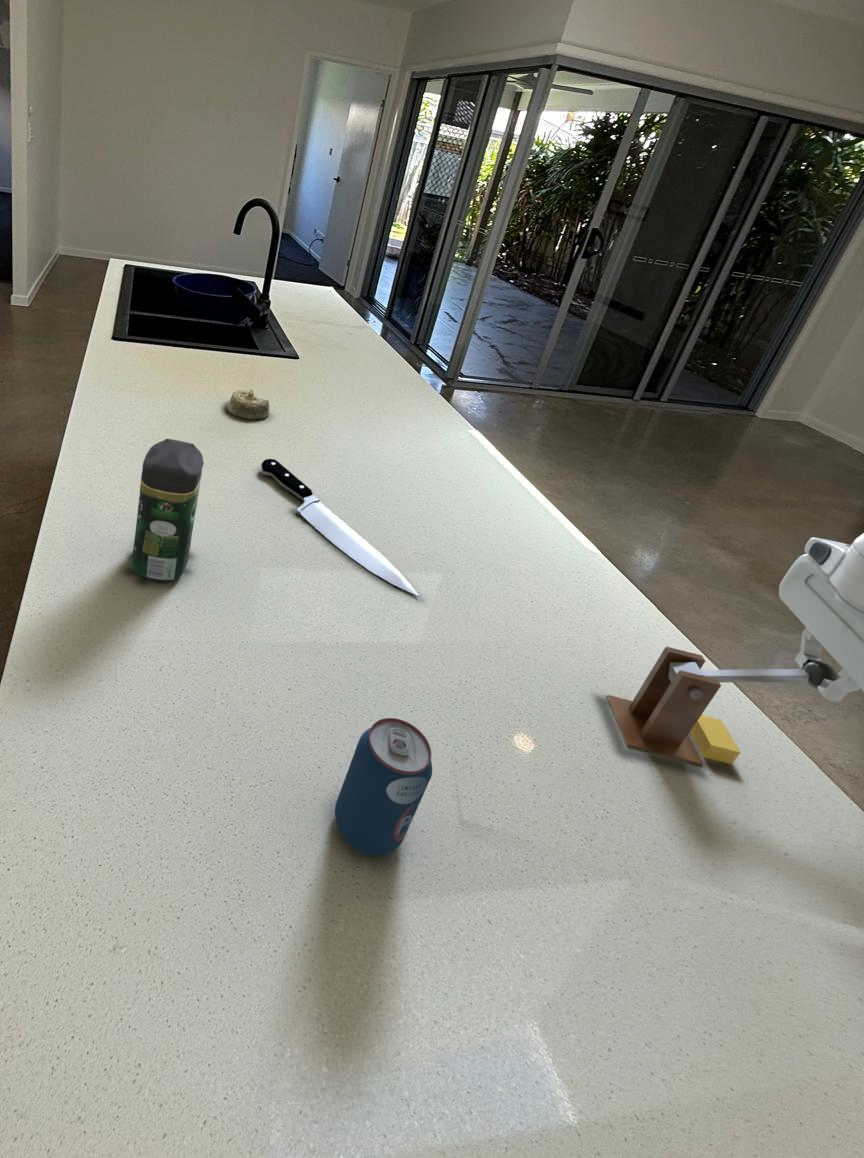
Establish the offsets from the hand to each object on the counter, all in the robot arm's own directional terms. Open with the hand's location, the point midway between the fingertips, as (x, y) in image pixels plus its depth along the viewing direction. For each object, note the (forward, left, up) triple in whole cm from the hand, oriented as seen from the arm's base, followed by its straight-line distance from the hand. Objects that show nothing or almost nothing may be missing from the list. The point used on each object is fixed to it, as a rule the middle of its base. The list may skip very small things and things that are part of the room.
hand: (815, 681), depth 76 cm
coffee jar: (+80, -9, -14) cm, 82 cm away
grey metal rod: (+6, 0, -3) cm, 7 cm away
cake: (+78, -71, -14) cm, 106 cm away
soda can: (+49, +23, -14) cm, 56 cm away
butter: (+6, 0, -14) cm, 15 cm away
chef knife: (+56, -31, -14) cm, 66 cm away
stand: (+13, 0, -14) cm, 19 cm away
